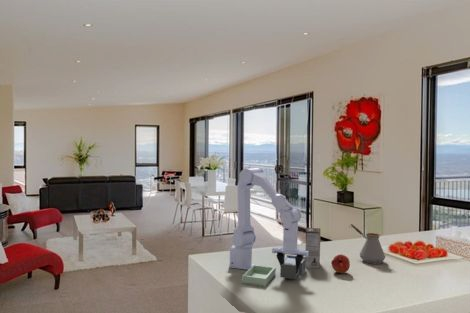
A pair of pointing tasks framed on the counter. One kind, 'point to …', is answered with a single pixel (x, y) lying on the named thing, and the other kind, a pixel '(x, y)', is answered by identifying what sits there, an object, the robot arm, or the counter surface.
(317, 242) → the coffee box
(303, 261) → the printer bay
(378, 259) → the coffee pot
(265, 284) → the tray
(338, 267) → the fruit
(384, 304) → the counter surface
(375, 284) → the counter surface
